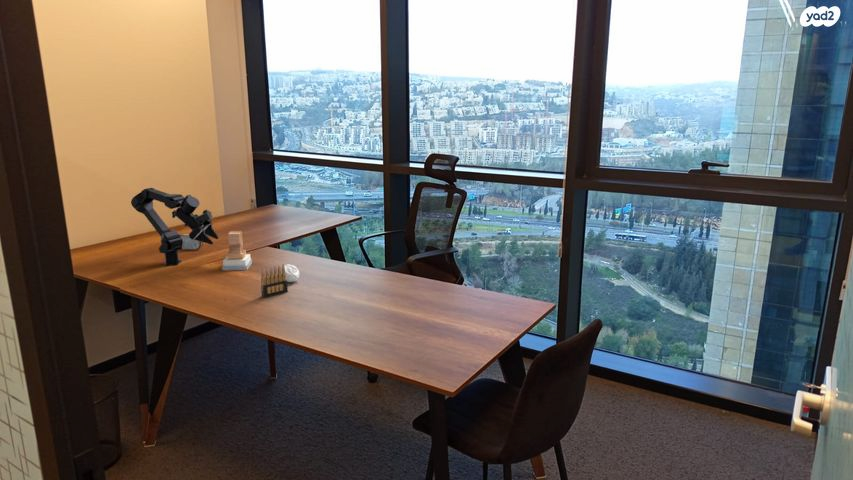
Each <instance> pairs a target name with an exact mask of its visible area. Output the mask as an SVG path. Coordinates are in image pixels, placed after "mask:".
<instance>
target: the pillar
mask: <svg viewBox="0 0 853 480" xmlns="http://www.w3.org/2000/svg"><path fill="white" fill-rule="evenodd" d="M227 237H228V238H227V239H228V252H227V254H226V257H227V260H243V259H244V257H245V256H246V254H247V251H246V249H244V247H243V246H244V243H243V242H244V241H243V232H242V230H230V231H229V232H228V234H227Z"/></svg>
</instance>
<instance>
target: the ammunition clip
mask: <svg viewBox="0 0 853 480" xmlns="http://www.w3.org/2000/svg"><path fill="white" fill-rule="evenodd" d="M284 266H285V265H284V264H282V266H281V265H280V264H278V266H276V265H274V267H272V266H270V267H269V268H268V267H266V268H265V270H264V268H261V274H260V275H261V279H260V280H261V285H260V287H261V289H260V290H261V297H262V298H263V299H265V298H268V297H271V296H276V295H281V294H285V293H288V292H289V290H288V282H287V280H286V273H285V267H284ZM281 270H282V274H281Z"/></svg>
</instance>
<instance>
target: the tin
mask: <svg viewBox="0 0 853 480" xmlns="http://www.w3.org/2000/svg"><path fill="white" fill-rule="evenodd" d="M178 234H179V235H180V236H181V238H182V240H183V244H182V250H181V251H197V250H200V249H201V248H202V247H203V245H204V242H201V241H197V240H194V239H195V238H196V237H195V238H194V239H193V240H192V239H190V238H189V234H190V233H184V232H183V233H181V232H180V233H178Z"/></svg>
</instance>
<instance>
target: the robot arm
mask: <svg viewBox="0 0 853 480" xmlns="http://www.w3.org/2000/svg"><path fill="white" fill-rule="evenodd" d="M153 201H157V202H160V203H163V204H164V206H165V208H168V209H170V210H172V209H174V210H172V212H171V214H172V216H171V217H172V219H175V218H177V219H178V220H179V221H181V222H182V223H184V227H188V228H189V229H190V230H191V232H189V233H188V234H189V238H190V239H192V240H193V239H194V238H195V237H196V238H195V239H194V240H197V241H201V242H203V243H205V244H209V245H213V244H214V242H213V240H211V238H213V239H216V240H218V239H219V236H218V234H217V233H216V231H215V229H214V228H213V225H214V224H213V220H212V218H213V215H212V211H210V210H208V209H204V210H203V211H202V214H199V215H198V214H194V212H195V211H196V210H197V208H199V206H200V200H199V199H198V198H197V197H194V196H192V195H191V194H187V195H185V196H184V195H182V194H178V193H172V194H171V193H167V192H165V191H161V190H159V189H156V188H154V187H148V188H143V189H142V190H141V192H139V193H137V194H136V195H135V196H133V197H132V199H131V200H130V204H131V206H132V207H133V208H134V210H135V211H136V212H138V213H140V214H143V215H144V216H145V218H146V219H147V220H148V221H149V223H150V225H152V227H153V228H154V229H155V231H156V232H157V234H158V235H159V236H160V243H161V245H160V246H159V247H158V250H159V252H160V253H161V254H164V258H165V259H164V260H165V262H164V263H163V264H162V265H163V266H178V265H179V264H180V263H182V260H181V259H179V252H178V251H180V250H181V251H183V250H182V244H183V240H182V238H181V236H180V235H179V234H180V233H179V231H177V230H176V229H175V230H170V228H169V227H168V226H167V224H166V223H165V222H164V220H163V219H162V218H161V216H160V215H159V213H158V212H157V211H156V210H155V209H154V202H153ZM175 209H176V210H175ZM210 237H211V238H210Z"/></svg>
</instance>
